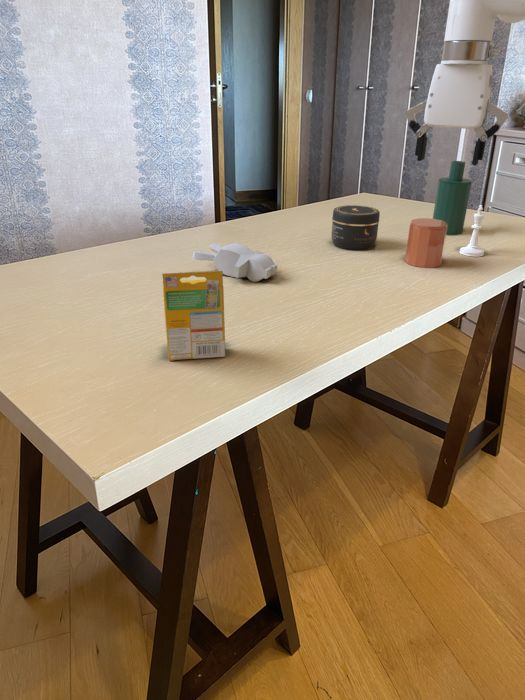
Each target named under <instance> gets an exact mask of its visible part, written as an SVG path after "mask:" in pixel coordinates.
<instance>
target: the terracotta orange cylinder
mask: <svg viewBox="0 0 525 700" xmlns="http://www.w3.org/2000/svg"><path fill="white" fill-rule="evenodd" d="M447 225H448V224H447V223H446V222H445V221H442V220H437V219H433V218H429V217H427V218H426V217H420V218H413V219H411V220H410V224H409V228H408V237H407V244H406V251H405V257H404V262H405V263H406V264H407V265H409V266H413V267H416V268H423V269H424V268H425V269H430V268H431V269H433V268H434V269H435V268H438V267H441V265H442V261H443V260H442V259H443V255H444V249H445V243H446V239H447V235H446V232H447Z"/></svg>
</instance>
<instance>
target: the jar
mask: <svg viewBox="0 0 525 700" xmlns="http://www.w3.org/2000/svg"><path fill="white" fill-rule="evenodd" d="M380 214H381V212H380V210H379V209H377V208H375V207H372V206H366V205H355V204H354V205H353V204H352V205H340V206H337V207H334V208H333V211H332V216H331V217H332V218H331V220H332V224H331V240H332V243H333V246H335V247H337V248H338V249H342V250H348V251H366V250H369V249H371V248H373V247H374V246H375V244H376V242H377V239H378V233H379V231H378V230H379V223H380V217H381V215H380Z"/></svg>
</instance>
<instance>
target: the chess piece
mask: <svg viewBox="0 0 525 700" xmlns="http://www.w3.org/2000/svg"><path fill="white" fill-rule="evenodd" d="M483 210H484V207H483V205H482V204H479V206H478V208H477V210H476V211H477V213H474V214H473V221H474V224H472V225H471V228H472V229H473V231H472V234H471V237H470V240H469V243H468V244H466V246H462V247H460V249H459V251H458V253H459V254H460V255H462V256H466V257H471V258H472V257H475V258H477V257H484V255H485V250H484V249H483V248H481V247H479V246H480V245H479V244H478V243H479V231H480V229H483V226H482V225H481V223H482V221H483V219H484V218H485V215H484V214H483V213H482V211H483Z"/></svg>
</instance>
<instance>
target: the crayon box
mask: <svg viewBox="0 0 525 700" xmlns="http://www.w3.org/2000/svg"><path fill="white" fill-rule="evenodd" d="M161 275H162V293H163V294H162V295H163V296H162V297H163V307H164V322H165V333H166V334H165V335H166V346H167V359H168V361H169V362H173V361H179V360H192V359H193V360H196V359H209V358H211V359H212V358H226V335H225V334H226V333H225V332H226V329H225V327H226V326H225V325H226V323H225V292H224V276H223V275H224V274H223V271H218V270H209V271H187V272H186V271H185V272H167V273H166V272H164V273H162V274H161ZM190 277H195V278H205V279H190V280H189V279H188V280H187V278H190ZM183 278H186V280H181V279H183Z"/></svg>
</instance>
